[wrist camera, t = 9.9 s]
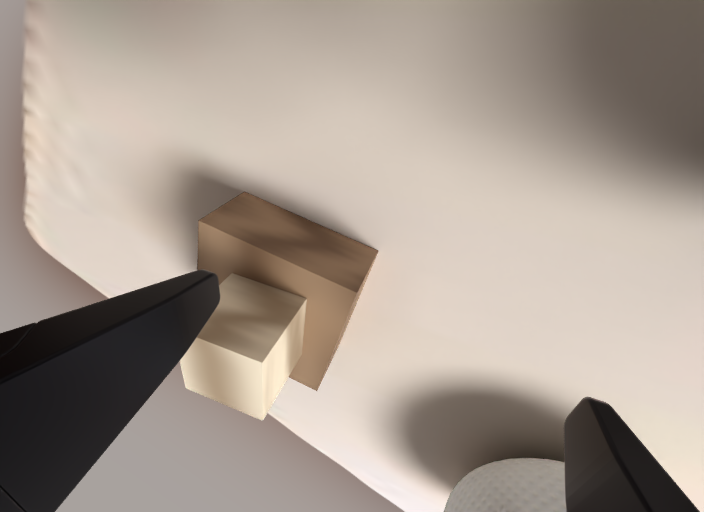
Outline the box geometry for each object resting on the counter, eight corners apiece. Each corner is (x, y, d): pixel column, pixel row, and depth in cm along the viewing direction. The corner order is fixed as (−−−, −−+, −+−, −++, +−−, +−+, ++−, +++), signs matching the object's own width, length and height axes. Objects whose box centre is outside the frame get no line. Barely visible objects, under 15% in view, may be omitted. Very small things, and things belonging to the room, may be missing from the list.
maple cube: (306, 298, 20) (262, 362, 16) (301, 354, 23) (262, 420, 19) (232, 273, 21) (172, 328, 17) (236, 329, 24) (185, 388, 20)
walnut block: (379, 248, 23) (357, 292, 19) (340, 341, 29) (316, 390, 25) (246, 190, 24) (198, 220, 20) (235, 291, 30) (196, 331, 26)
